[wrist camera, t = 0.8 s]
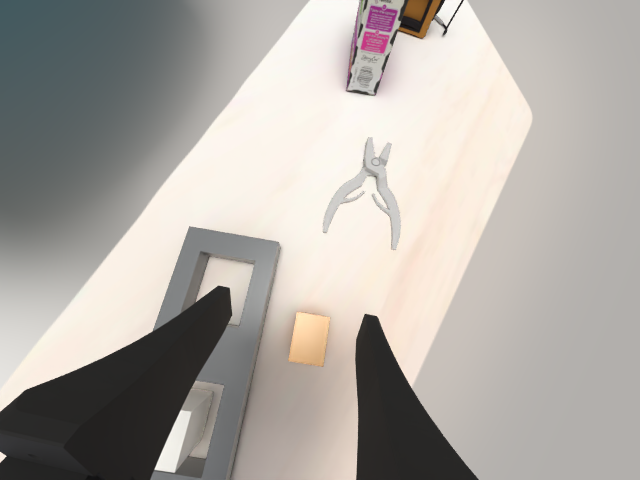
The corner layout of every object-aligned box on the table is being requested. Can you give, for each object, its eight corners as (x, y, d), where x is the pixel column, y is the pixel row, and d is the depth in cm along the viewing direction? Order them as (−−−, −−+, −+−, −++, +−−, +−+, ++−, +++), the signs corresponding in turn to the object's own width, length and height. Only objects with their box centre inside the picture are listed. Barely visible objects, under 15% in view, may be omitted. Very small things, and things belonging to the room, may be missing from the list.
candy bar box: (377, 97, 37) (433, -63, 21) (345, 92, 36) (378, -73, 21) (380, 46, 40) (429, -124, 24) (351, 42, 40) (382, -133, 24)
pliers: (321, 228, 28) (346, 131, 33) (320, 232, 30) (344, 138, 34) (400, 248, 28) (414, 147, 33) (395, 251, 30) (409, 155, 34)
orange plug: (318, 354, 25) (323, 366, 20) (291, 349, 25) (288, 361, 20) (324, 315, 27) (330, 317, 21) (298, 311, 27) (296, 312, 21)
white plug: (201, 438, 23) (174, 472, 18) (170, 433, 23) (135, 466, 18) (213, 391, 24) (191, 411, 19) (184, 386, 24) (154, 406, 19)
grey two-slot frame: (226, 496, 21) (216, 520, 19) (116, 480, 21) (92, 502, 19) (280, 247, 29) (278, 241, 26) (198, 233, 28) (189, 226, 26)
